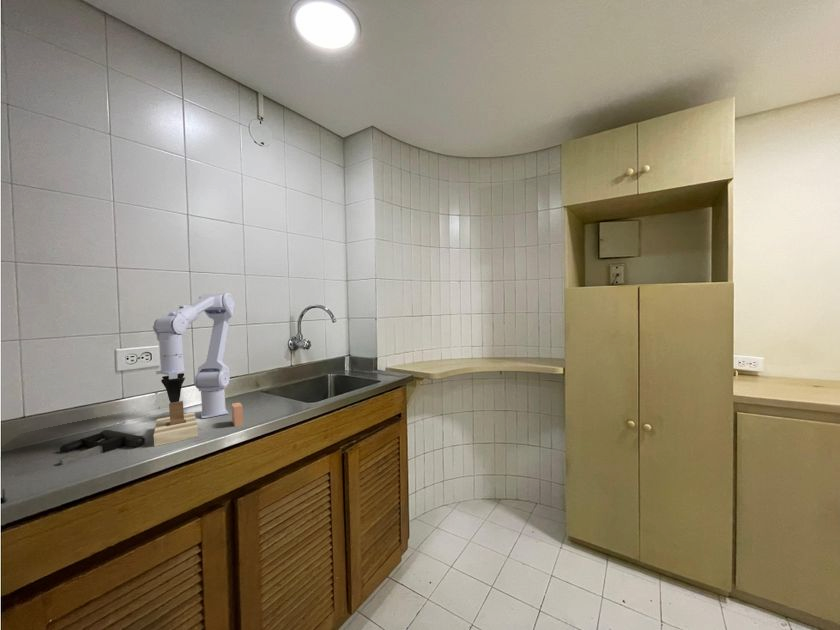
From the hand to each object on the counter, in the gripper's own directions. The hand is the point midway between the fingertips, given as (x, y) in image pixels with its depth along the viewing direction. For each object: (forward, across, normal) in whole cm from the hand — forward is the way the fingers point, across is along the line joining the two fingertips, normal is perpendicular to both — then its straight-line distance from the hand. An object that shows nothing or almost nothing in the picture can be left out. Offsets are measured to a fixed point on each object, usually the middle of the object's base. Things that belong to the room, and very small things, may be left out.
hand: (174, 399), depth 104 cm
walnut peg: (+10, 0, 0) cm, 10 cm away
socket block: (+10, 0, 0) cm, 10 cm away
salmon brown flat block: (+10, +4, +16) cm, 19 cm away
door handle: (+10, +2, -18) cm, 21 cm away
